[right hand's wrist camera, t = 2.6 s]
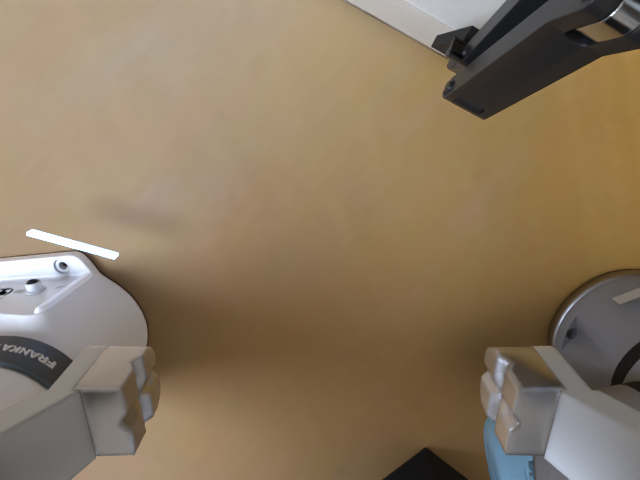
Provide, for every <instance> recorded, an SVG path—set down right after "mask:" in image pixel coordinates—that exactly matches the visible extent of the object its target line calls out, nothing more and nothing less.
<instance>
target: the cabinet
mask: <svg viewBox="0 0 640 480" xmlns="http://www.w3.org/2000/svg"><path fill="white" fill-rule="evenodd" d="M343 1H345V2H347V3H349V4H350V5H352V6H354V7H356V8H358V9H359V10H361V11H363V12H365V13H366V14H368V15H370V16H372V17H373V18H375V19H377V20H379V21H381V22H382V23H384V24H386V25H388V26H389V27H391V28H393V29H395V30H397V31H398V32H400V33H402V34H404V35H405V36H407V37H409V38H411V39H413V40H414V41H416V42H418V43H420V44H421V45H423V46H425V47H427V48H428V49H430V50H432V51H434V52H436V53H437V54H439V55H441V56H443V57H444V58H446V59H448V60H450V59H449V58H448V57H446V56H445V54H443V53H441V52H439V51H437V50H436V49H434V48H432V47H431V46H432V44H433V42H434V40H435V38H436V36H437V35H440V34H443V33H447V32H450V31H454V30H458V29H461V28H465V27H468V26H472V25H473V26H474V27H476V28H478V29H479V30H480V29H481V28H482V27H483V25H484V24H485V23H486V22H487V21H488V20H489V19H490V18H491V17H492V16H493V14H494V13H495V12H496V11H497V10H498V9H499V8H500V7H501V6H502V4H503V3H504V2H505V1H506V0H343Z"/></svg>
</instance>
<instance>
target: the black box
mask: <svg viewBox="0 0 640 480" xmlns="http://www.w3.org/2000/svg"><path fill="white" fill-rule="evenodd" d="M384 480H467V479H466V478H464V477H463V476H462V475H460V474H459V473H458V472H457V471H455V470H454V469H453V468H451V467H450V466H449V465H447V464H446V463H445V462H444V461H442V460H441V459H440V458H438V457H437V456H436V455H435V454H433V453H432V452H431V451H429V450H428V449H427V448H425V449H424V450H422V451H421V452H420V453H418V454H417V455H416V456H414V457H413V458H412V459H410V460H409V461H408V462H406V463H405V464H404V465H402V466H401V467H400V468H398V469H397V470H396V471H394V472H393V473H392V474H390V475H389V476H388V477H386V478H385V479H384Z"/></svg>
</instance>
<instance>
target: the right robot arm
mask: <svg viewBox="0 0 640 480" xmlns="http://www.w3.org/2000/svg"><path fill="white" fill-rule="evenodd" d="M26 235H27V236H31V237H34V238H38V239H42V240H45V241H49V242H53V243H56V244H60V245H64V246H67V247H71V248H75V249H78V250H82V251H86V252H89V253H93V254H97V255H100V256H104V257H108V258H111V259H115V258H116V257H118V255H119V253H117V252H113V251H110V250H106V249H102V248H99V247H95V246H92V245H88V244H84V243H81V242H77V241H73V240H70V239H66V238H63V237H59V236H55V235H52V234H48V233H44V232H41V231H37V230H34V229H32V230H30V231H28V232H27V234H26ZM62 262H64V263H66V264H67V266H64V265H63V263H62ZM147 340H148V330H147V324H146V321H145V318H144V315H143V313H142V311H141V309H140V307H139V306H138V304H137V303H136V302H135V300H134V299H133V298H132V297H131V296H130V295H129V294H128V293H127V292H126V291H125V290H124V289H123V288H121V287H120V286H119V285H117V284H116V283H114V282H113V281H111V280H109V279H108V278H106V277H105V276H104V275H102V274H101V273H100V272H99V271H98V269H97V268H96V267H95V266H94V264H93V263H92V262H91V261H90V260H89V259H88V258H87V257H86V256H85V255H84V254H83V253H81V252H78V251H69V252H59V253H49V254H39V255H29V256H18V257H8V258H0V480H71V479H72V478H73V477H74V476H76V475H77V474H78V473H79V472H80V471H81V470H83V469H84V468H85V467H86V466H87V465H88V464H90V463H91V462H92V461H93V460H94V459H95V458H96V456H115V455H134V454H135V452H136V450H137V448H138V446H139V444H140V442H141V440H142V438H143V436H144V434H145V432H146V430H145V424H144V423H145V422H146V421H148V420H149V419H150V418H152V417H153V416H154V413H155V411H156V409H157V407H158V402H159V398H160V380H159V376H158V375H157V374H156V373H155V372H154V371H153V370H152V368H153V366H154V365H155V363H156V358H155V353H154V350H153V349H152V348H151V347H146V345H147ZM484 363H485V365H486V366H487V368H488V370H487V371H486V372H485V373H484V374H483V375H482V376H481V381H480V398H481V403H482V406H483V409H484V411H485V413H486V416H487V417H488V418H490V419H491V420H492V421H494V422H495V423H496V424H495V430H494V432H495V434H496V436H497V438H498V440H499V442H500V444H501V446H502V448H503V450H504V452H505V454H506V455H524V456H544V458H545V459H546V460H547V461H548V462H549V463H551V464H552V465H553V466H554V467H555V468H556V469H558V470H559V471H560V472H561V473H562V474H563V475H565V476H566V477H567V478H568V479H569V480H640V411H638V410H636V409H634V408H632V407H630V406H628V405H626V404H624V403H622V402H620V401H618V400H616V399H615V398H613V397H611V396H609V395H607V394H605V393H603V392H601V391H599V390H591V388H590V387H589V386H588V385H587V384H586V383H585V382H584V380H583V379H582V378H581V377H580V376H579V375H578V373H577V372H576V371H575V370H574V369H573V368H572V367H571V365H570V364H569V363H568V362H567V361H566V360H565V359H564V357H563V356H562V355H561V354H560V353H559V352H558V350H557V349H556V348H554V347H552V346H529V347H488V348H487V350H486V352H485V357H484Z"/></svg>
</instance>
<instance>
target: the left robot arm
mask: <svg viewBox="0 0 640 480" xmlns="http://www.w3.org/2000/svg"><path fill="white" fill-rule="evenodd" d="M431 47H432V48H434V49H436V50H437V51H439V52H441V53H443V54H445V56H446V57H448V58H449V59H450V61H449V63H448V64H447V68H448V69H449V70H451V71H453V72H455V73H456V75H455V76H454V77H453V78H452V79H451V80H450V81H449V82H448V83H447V84H446V86H445V89H444V91H443V98H445V99H446V100H448V101H450V102H452V103H453V104H455V105H457V106H459V107H461V108H463V109H464V110H466V111H468V112H470V113H472V114H474V115H476V116H477V117H479V118H481V119H483V120H484V119H487V118H489V117H491V116H492V115H494V114H496V113H498V112H500V111H502V110H504V109H505V108H507V107H509V106H511V105H513V104H515V103H517V102H518V101H520V100H522V99H524V98H526V97H528V96H530V95H531V94H533V93H535V92H537V91H539V90H541V89H543V88H544V87H546V86H548V85H550V84H552V83H554V82H556V81H557V80H559V79H561V78H563V77H565V76H567V75H568V74H570V73H572V72H574V71H576V70H578V69H580V68H581V67H583V66H585V65H587V64H589V63H591V62H593V61H594V60H596V59H598V58H600V57H602V56H606V55H611V54H616V53H621V52H626V51H631V50H636V49H640V0H506V1H505V2H504V3H503V4H502V6H501V7H500V8H499V9H498V10H497V11H496V12H495V13H494V14H493V16H492V17H491V18H490V19H489V20H488V21H487V22H486V23H485V24H484V25H483V27H482V28H481V29H480V30H479V29H478V28H476V27H474V26H473V25H472V26H468V27H465V28H461V29H458V30H454V31H450V32H447V33H443V34H440V35H437V36H436V38H435V40H434V42H433V44H432V46H431ZM548 344H549V346H552V347H554V348H556V349H557V350H558V352H559V353H560V354H561V355H562V356H563V357H564V359H565V360H566V361H567V362H568V363H569V364H570V365H571V367H572V368H573V369H574V370H575V371H576V372H577V373H578V375H579V376H580V377H581V378H582V379H583V380H584V382H585V383H586V384H587V385H588V386H589V387H590V388H591V390H599V391H601V392H603V393H605V394H607V395H609V396H611V397H613V398H615V399H616V400H618V401H620V402H622V403H624V404H626V405H628V406H630V407H632V408H634V409H636V410H638V411H640V270H620V271H614V272H610V273H607V274H604V275H601V276H599V277H596V278H594V279H592V280H590V281H588V282H587V283H585V284H583V285H582V286H580V287H579V288H578V289H576V290H575V291H574V292H573V293H572V294H570V296H569V297H568V298H567V299H566V300H565V301H564V302H563V303H562V304H561V306H560V307H559V309H558V310H557V312H556V314H555V315H554V318H553V320H552V322H551V325H550V329H549V335H548ZM495 424H496V423H495V422H494V421H492V420H491V419H490V418H487V420H486V422H485V424H484V431H483V437H484V447H485V453H486V459H487V464H488V470H489V475H490V480H569V479H568V478H567V477H566V476H565V475H563V474H562V473H561V472H560V471H559V470H558V469H556V468H555V467H554V466H553V465H552V464H551V463H549V462H548V461H547V460H546V459H545V458H544V456H524V455H506V454H505V452H504V450H503V448H502V446H501V444H500V442H499V440H498V438H497V436H496V434H495V432H494V430H495Z"/></svg>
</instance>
